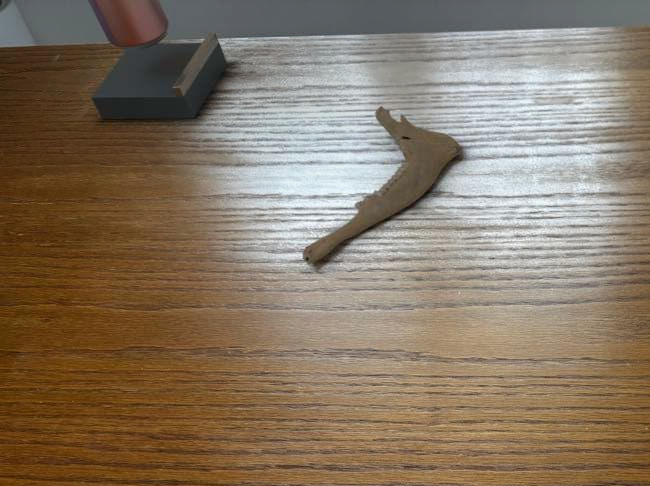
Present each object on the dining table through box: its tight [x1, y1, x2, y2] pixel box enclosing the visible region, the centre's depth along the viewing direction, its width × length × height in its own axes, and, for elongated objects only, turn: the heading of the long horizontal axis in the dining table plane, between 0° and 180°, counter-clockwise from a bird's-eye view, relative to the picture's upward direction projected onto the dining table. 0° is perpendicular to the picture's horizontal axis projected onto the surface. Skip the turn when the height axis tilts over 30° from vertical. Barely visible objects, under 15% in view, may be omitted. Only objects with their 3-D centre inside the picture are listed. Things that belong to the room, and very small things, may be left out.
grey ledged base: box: [90, 32, 229, 120], centre depth 87 cm, size 10×10×4 cm
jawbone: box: [302, 106, 460, 266], centre depth 73 cm, size 9×20×2 cm, turn 168°
